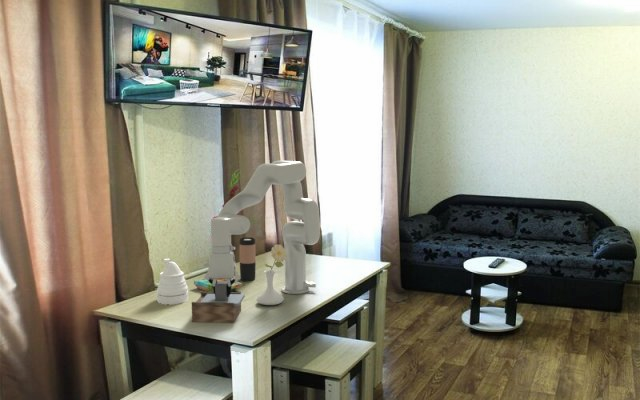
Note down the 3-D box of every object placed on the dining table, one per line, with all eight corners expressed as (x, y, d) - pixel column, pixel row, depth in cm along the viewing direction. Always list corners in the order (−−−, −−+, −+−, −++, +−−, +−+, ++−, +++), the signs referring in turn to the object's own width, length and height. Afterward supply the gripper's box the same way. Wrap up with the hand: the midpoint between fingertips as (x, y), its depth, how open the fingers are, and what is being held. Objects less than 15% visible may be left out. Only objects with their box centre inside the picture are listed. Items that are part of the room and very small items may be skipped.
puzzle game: (213, 274, 268) (242, 281, 255) (214, 283, 268) (242, 291, 255) (193, 279, 259) (222, 286, 246) (194, 289, 259) (222, 297, 246)
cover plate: (244, 296, 225) (244, 279, 225) (238, 306, 214) (238, 288, 213) (207, 295, 226) (207, 278, 225) (199, 305, 214) (199, 287, 214)
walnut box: (241, 310, 227) (240, 292, 226) (234, 322, 213) (233, 303, 212) (201, 310, 228) (201, 291, 227) (192, 321, 214) (191, 302, 213)
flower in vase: (261, 308, 230) (260, 248, 227) (253, 301, 240) (252, 243, 237) (291, 305, 235) (291, 245, 232) (282, 297, 245) (281, 240, 242)
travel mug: (237, 280, 273) (236, 239, 270) (244, 276, 280) (244, 236, 278) (251, 281, 270) (250, 240, 268) (258, 278, 277) (258, 237, 275)
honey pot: (162, 306, 233) (160, 263, 231) (153, 298, 244) (152, 257, 242) (192, 301, 240) (191, 259, 237) (182, 293, 251) (181, 254, 248)
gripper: (244, 247, 221) (245, 293, 223) (202, 247, 222) (203, 292, 224) (241, 251, 213) (242, 298, 215) (197, 251, 214) (198, 298, 216)
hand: (222, 295), depth 220 cm, fingers closed on cover plate, 4 cm apart
